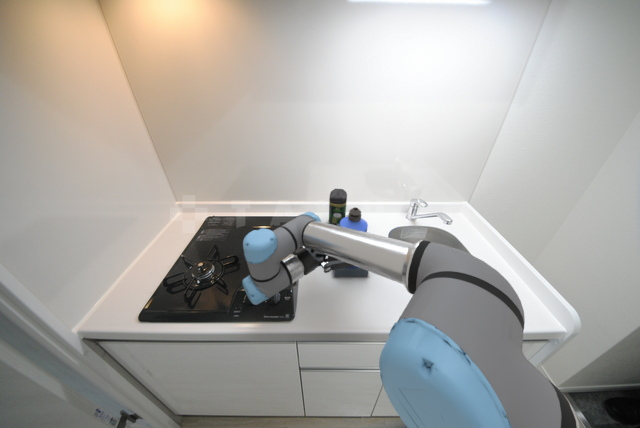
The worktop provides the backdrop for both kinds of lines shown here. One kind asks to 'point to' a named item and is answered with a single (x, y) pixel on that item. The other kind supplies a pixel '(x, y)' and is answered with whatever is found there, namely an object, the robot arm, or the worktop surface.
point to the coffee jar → (337, 206)
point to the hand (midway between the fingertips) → (349, 235)
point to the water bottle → (354, 222)
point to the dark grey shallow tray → (350, 272)
